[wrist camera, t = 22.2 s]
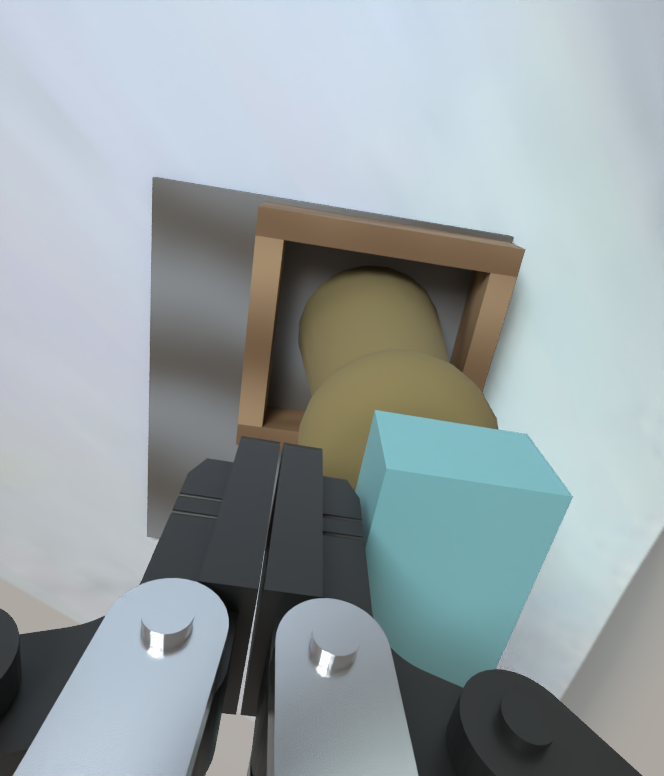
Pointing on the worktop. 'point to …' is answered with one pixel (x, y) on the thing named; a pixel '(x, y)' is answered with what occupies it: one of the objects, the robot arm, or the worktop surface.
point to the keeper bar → (453, 537)
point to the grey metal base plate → (282, 313)
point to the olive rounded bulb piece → (376, 365)
